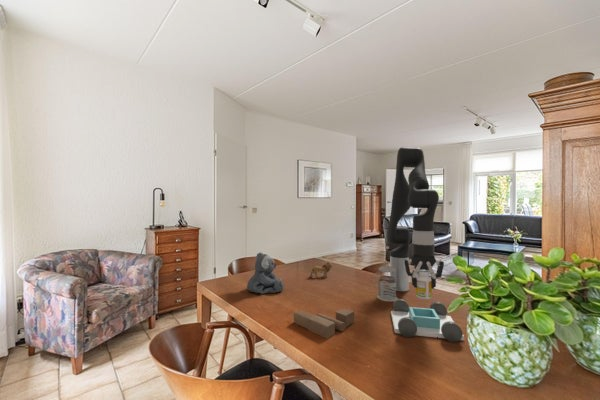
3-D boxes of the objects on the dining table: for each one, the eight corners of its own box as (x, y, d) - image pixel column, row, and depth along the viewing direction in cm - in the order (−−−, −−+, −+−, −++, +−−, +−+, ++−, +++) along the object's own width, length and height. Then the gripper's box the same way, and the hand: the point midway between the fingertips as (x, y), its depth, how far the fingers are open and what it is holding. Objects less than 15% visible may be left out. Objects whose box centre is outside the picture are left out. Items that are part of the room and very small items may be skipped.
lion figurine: (330, 274, 170) (330, 260, 170) (333, 277, 165) (333, 262, 165) (308, 276, 166) (307, 262, 166) (310, 279, 161) (310, 264, 161)
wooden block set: (328, 324, 92) (292, 309, 104) (329, 341, 92) (292, 324, 104) (356, 309, 104) (320, 297, 116) (356, 324, 104) (321, 310, 116)
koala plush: (285, 292, 138) (284, 254, 138) (250, 297, 132) (250, 257, 132) (275, 283, 154) (275, 249, 154) (244, 287, 148) (243, 251, 148)
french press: (401, 301, 125) (401, 247, 125) (376, 301, 125) (376, 247, 125) (394, 294, 135) (393, 244, 135) (370, 294, 135) (370, 244, 135)
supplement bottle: (427, 294, 104) (426, 268, 103) (434, 299, 98) (434, 272, 98) (413, 294, 103) (413, 269, 103) (420, 299, 98) (419, 272, 98)
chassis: (390, 312, 113) (390, 298, 113) (448, 317, 108) (448, 302, 108) (395, 335, 94) (395, 318, 94) (466, 343, 88) (466, 325, 88)
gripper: (441, 241, 103) (441, 285, 103) (401, 240, 106) (402, 283, 106) (447, 244, 95) (447, 292, 95) (404, 243, 99) (404, 289, 99)
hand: (423, 287), depth 101 cm, fingers closed on supplement bottle, 5 cm apart
